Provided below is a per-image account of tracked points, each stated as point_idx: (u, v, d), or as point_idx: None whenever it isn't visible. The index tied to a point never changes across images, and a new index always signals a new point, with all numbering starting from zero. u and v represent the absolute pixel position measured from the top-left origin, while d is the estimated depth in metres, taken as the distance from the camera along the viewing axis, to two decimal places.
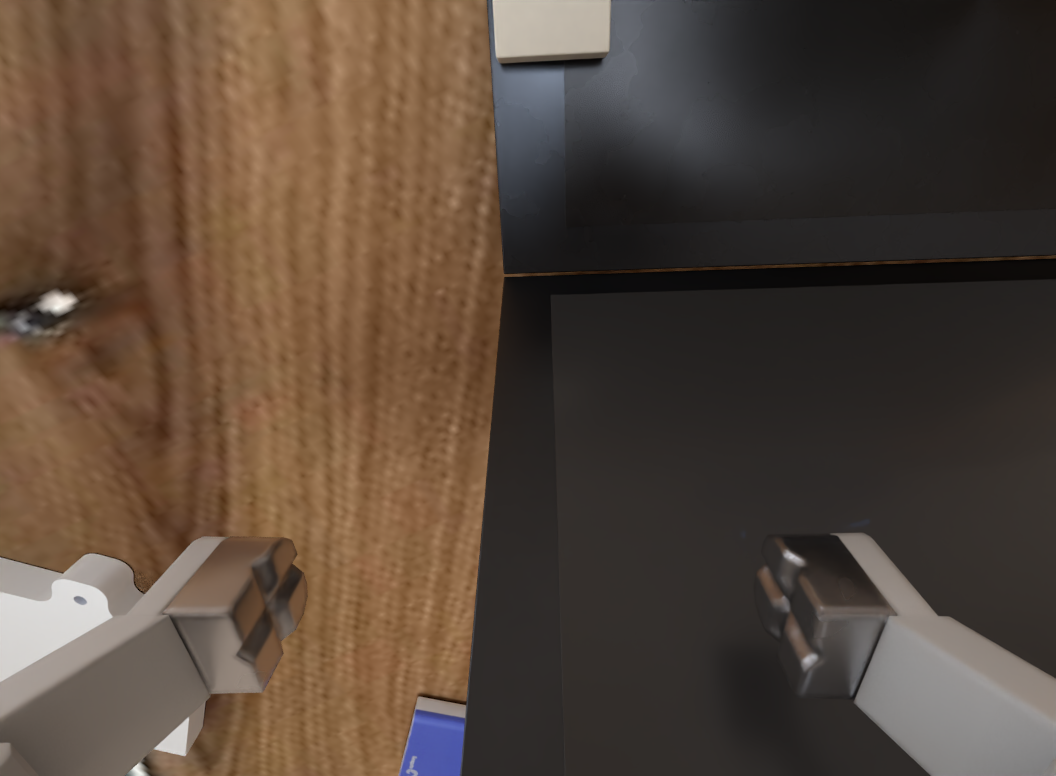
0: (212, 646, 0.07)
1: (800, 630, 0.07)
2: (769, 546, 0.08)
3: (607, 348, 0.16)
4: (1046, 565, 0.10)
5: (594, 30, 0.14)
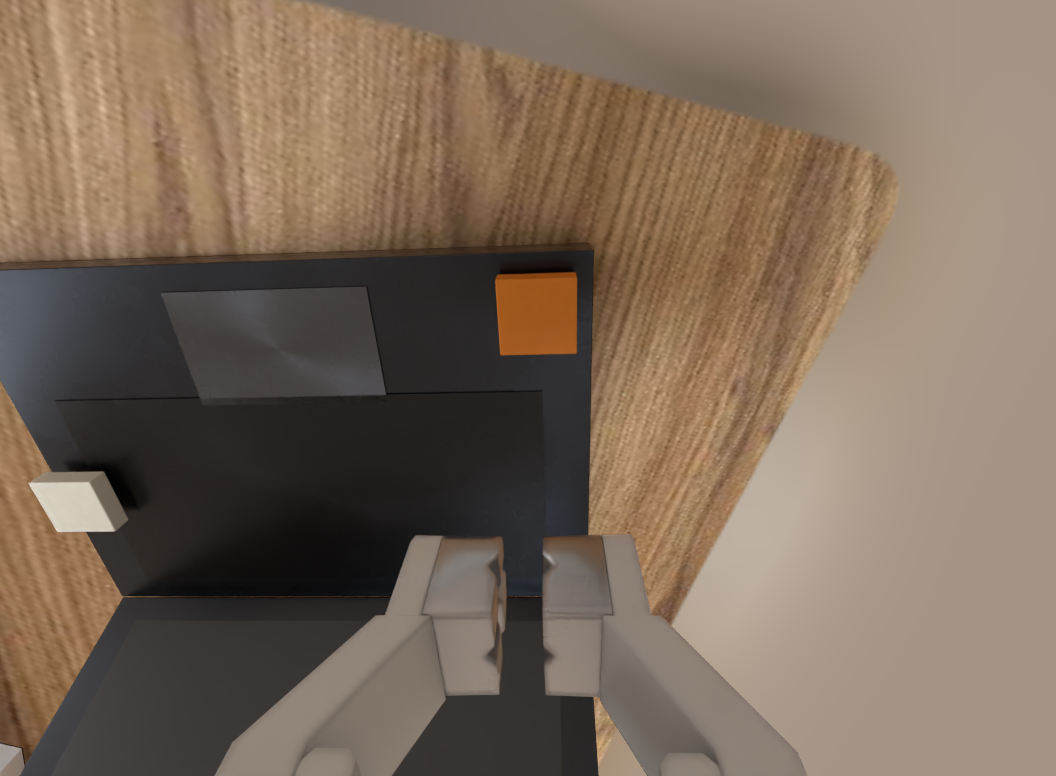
0: (463, 647, 0.07)
1: None
2: None
3: (135, 675, 0.28)
4: None
5: (103, 524, 0.27)
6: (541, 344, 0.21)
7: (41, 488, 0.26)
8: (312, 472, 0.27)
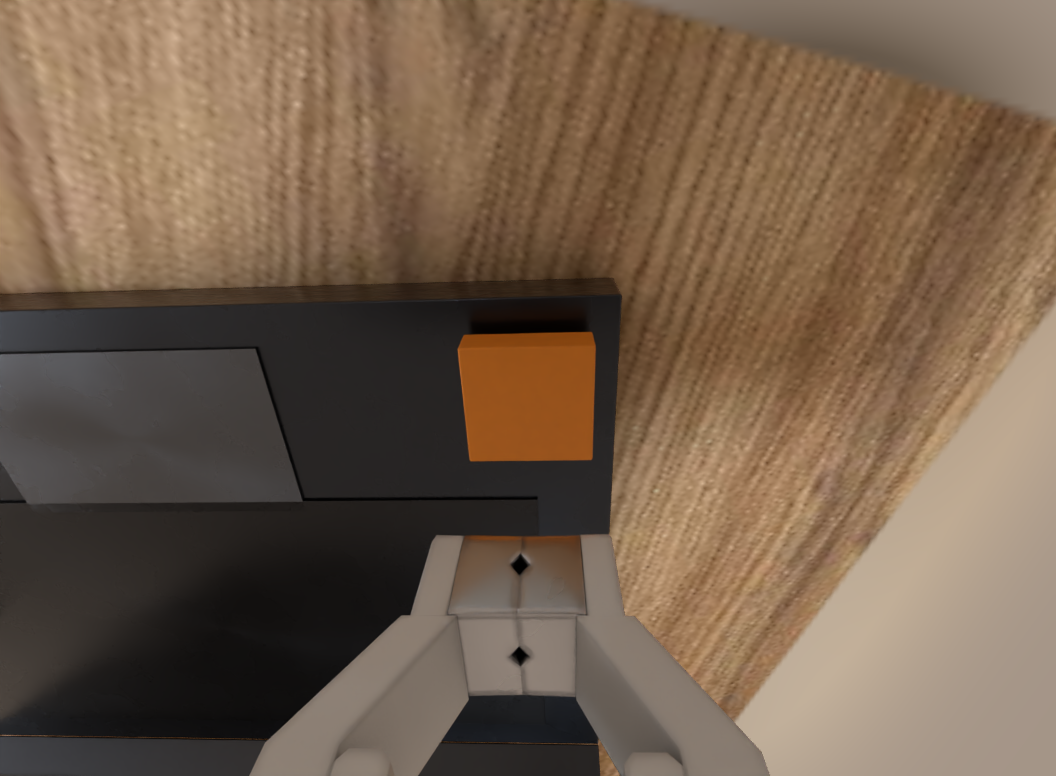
0: (487, 647, 0.07)
1: None
2: None
3: None
4: None
5: None
6: (536, 447, 0.13)
7: None
8: (207, 598, 0.19)
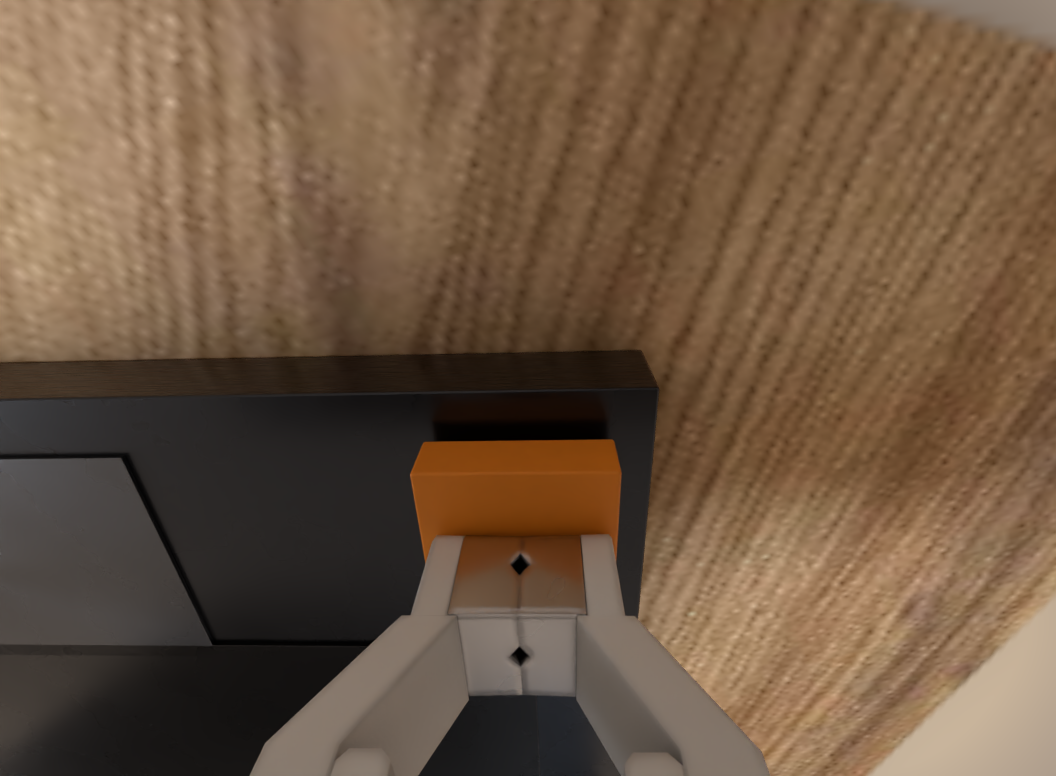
0: (487, 647, 0.07)
1: None
2: None
3: None
4: None
5: None
6: None
7: None
8: (101, 751, 0.14)
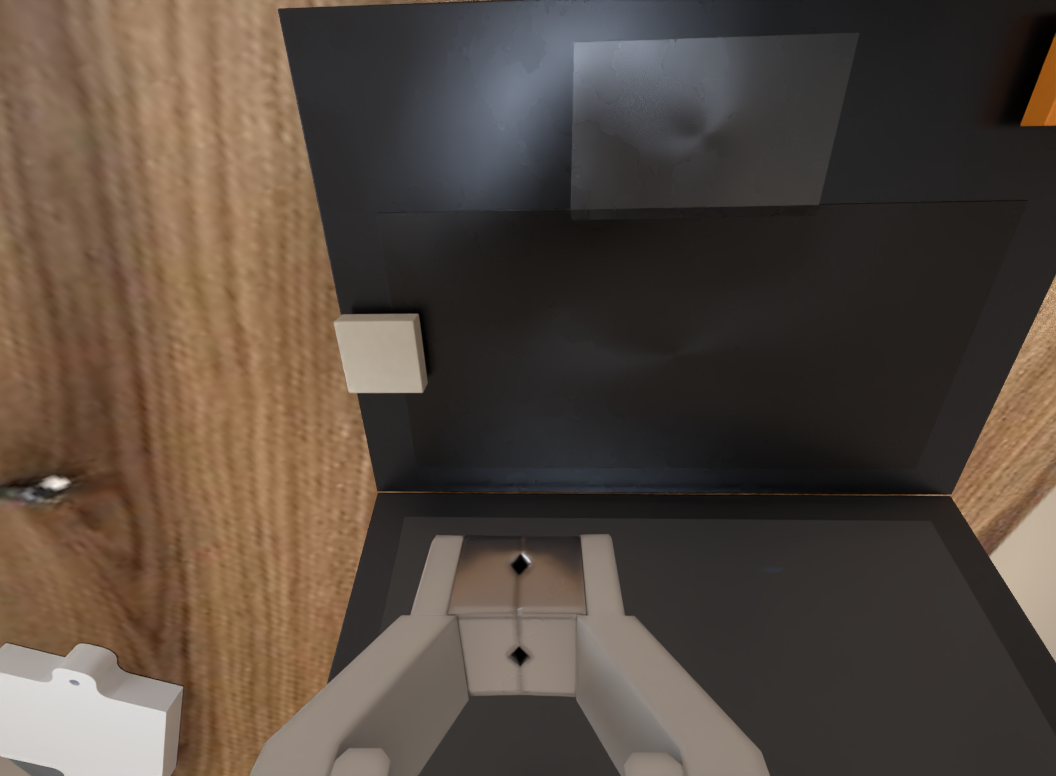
0: (487, 647, 0.07)
1: None
2: None
3: None
4: None
5: (411, 382, 0.22)
6: None
7: (348, 329, 0.21)
8: (677, 320, 0.21)
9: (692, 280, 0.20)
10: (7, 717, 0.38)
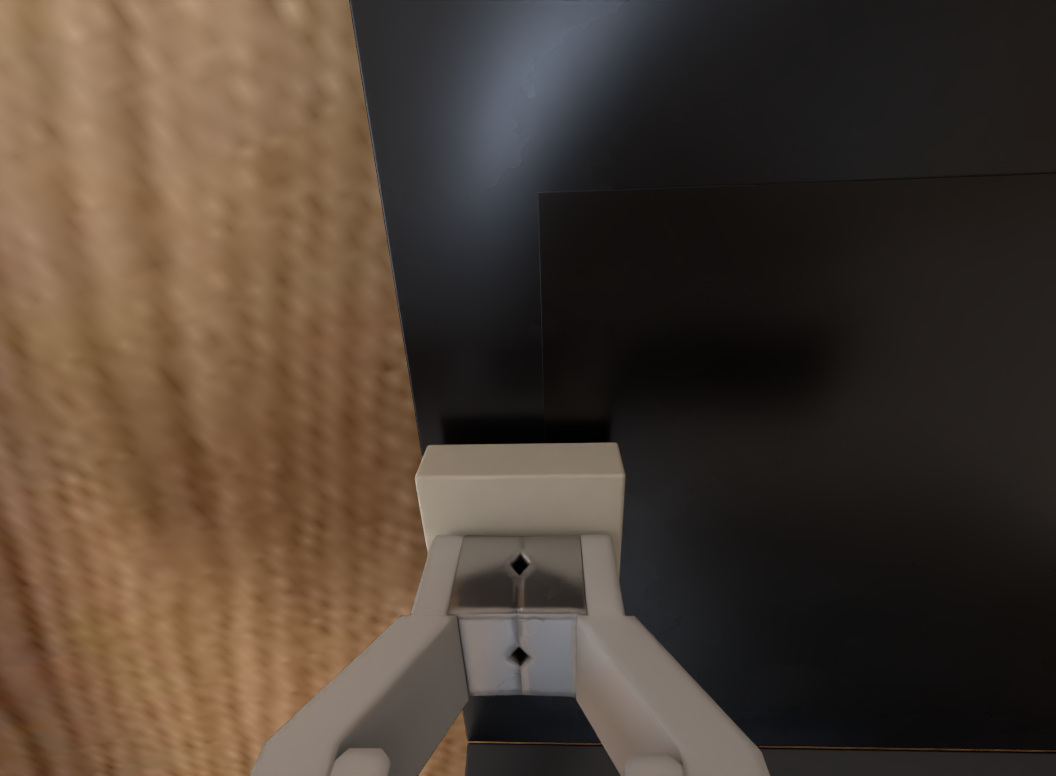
0: (487, 647, 0.07)
1: None
2: None
3: None
4: None
5: None
6: None
7: (452, 495, 0.08)
8: None
9: None
10: None
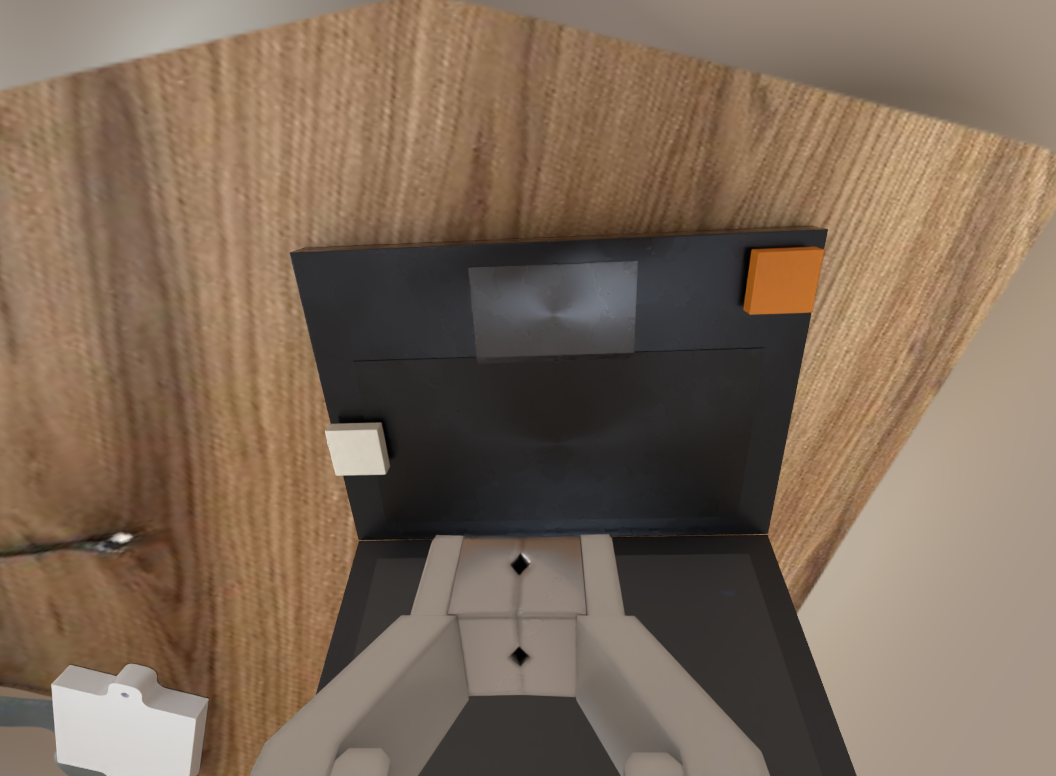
0: (487, 647, 0.07)
1: None
2: None
3: (392, 600, 0.33)
4: (512, 728, 0.28)
5: (377, 468, 0.32)
6: (785, 305, 0.27)
7: (334, 435, 0.31)
8: (555, 422, 0.32)
9: (560, 397, 0.31)
10: (67, 726, 0.47)
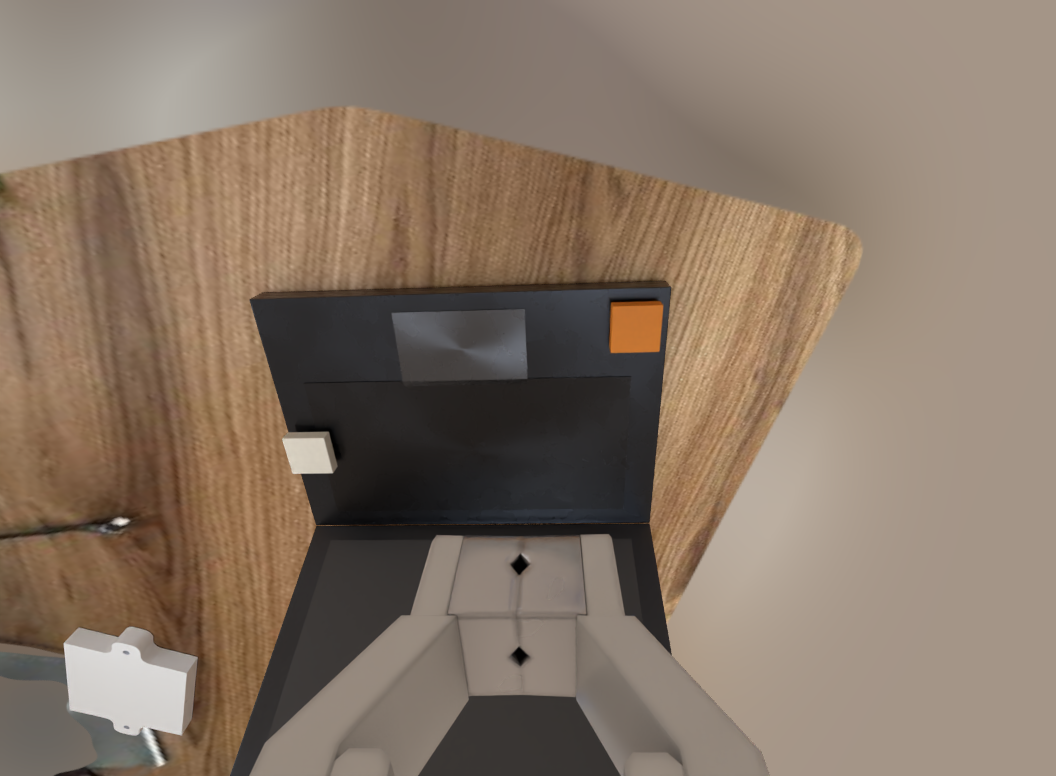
0: (487, 647, 0.07)
1: None
2: None
3: (340, 574, 0.41)
4: None
5: (326, 468, 0.40)
6: (637, 346, 0.34)
7: (290, 442, 0.39)
8: (469, 432, 0.39)
9: (472, 413, 0.39)
10: (77, 679, 0.55)
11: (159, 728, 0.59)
